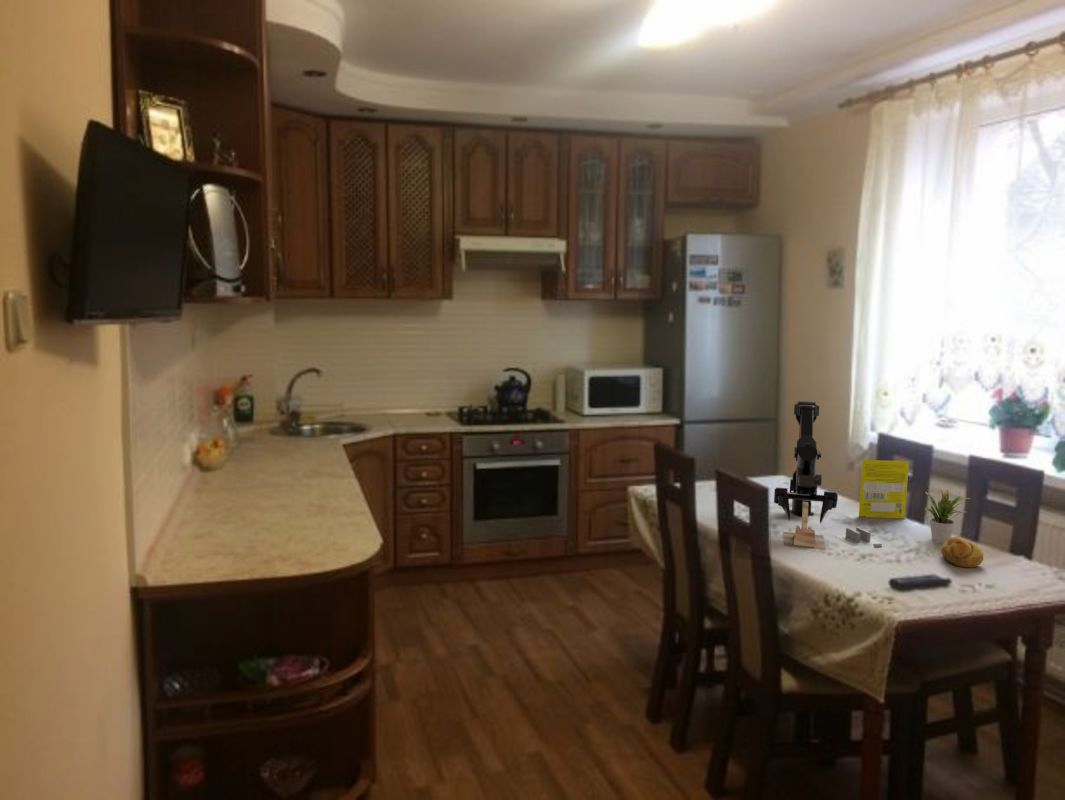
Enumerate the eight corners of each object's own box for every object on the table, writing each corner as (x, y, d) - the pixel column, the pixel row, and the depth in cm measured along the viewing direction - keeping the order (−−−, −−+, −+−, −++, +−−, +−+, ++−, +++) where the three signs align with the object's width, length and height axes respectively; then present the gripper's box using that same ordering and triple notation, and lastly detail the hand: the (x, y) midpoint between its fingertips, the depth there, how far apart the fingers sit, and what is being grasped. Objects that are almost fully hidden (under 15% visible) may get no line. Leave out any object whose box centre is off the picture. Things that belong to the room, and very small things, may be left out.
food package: (904, 518, 286) (908, 461, 284) (905, 519, 285) (909, 461, 282) (858, 516, 288) (861, 459, 285) (859, 517, 287) (862, 460, 284)
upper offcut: (795, 534, 254) (795, 528, 254) (814, 536, 253) (814, 529, 252) (795, 537, 251) (796, 531, 250) (814, 539, 249) (814, 533, 249)
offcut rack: (783, 534, 265) (783, 522, 264) (823, 538, 261) (823, 526, 261) (783, 548, 250) (784, 535, 250) (825, 552, 247) (826, 539, 247)
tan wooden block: (800, 536, 260) (802, 501, 259) (806, 536, 260) (808, 502, 258) (801, 539, 256) (803, 504, 255) (806, 540, 256) (808, 505, 255)
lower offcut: (793, 541, 255) (794, 534, 254) (814, 543, 253) (815, 536, 253) (794, 545, 251) (794, 537, 251) (815, 547, 249) (815, 539, 249)
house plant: (978, 549, 253) (982, 496, 250) (931, 547, 253) (935, 495, 251) (956, 535, 267) (961, 485, 264) (912, 534, 267) (916, 484, 265)
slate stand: (833, 538, 261) (834, 526, 261) (862, 537, 263) (863, 524, 263) (852, 548, 252) (853, 535, 251) (881, 546, 254) (882, 533, 253)
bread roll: (932, 555, 247) (935, 528, 246) (965, 555, 246) (968, 529, 245) (954, 569, 234) (956, 541, 233) (988, 570, 234) (991, 542, 233)
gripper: (776, 462, 262) (774, 505, 252) (839, 466, 256) (839, 510, 247) (774, 481, 270) (773, 523, 261) (835, 485, 265) (836, 528, 256)
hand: (804, 521), depth 256 cm, fingers open, 9 cm apart
